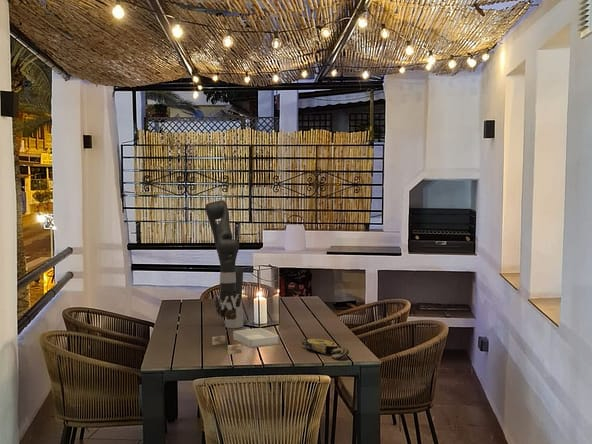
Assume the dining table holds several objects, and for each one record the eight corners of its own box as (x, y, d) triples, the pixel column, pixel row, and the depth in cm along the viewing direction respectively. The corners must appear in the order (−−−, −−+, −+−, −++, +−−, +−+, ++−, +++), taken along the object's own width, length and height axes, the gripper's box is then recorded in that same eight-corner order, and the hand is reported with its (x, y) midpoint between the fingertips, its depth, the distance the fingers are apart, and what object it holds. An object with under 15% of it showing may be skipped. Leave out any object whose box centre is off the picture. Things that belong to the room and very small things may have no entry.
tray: (260, 335, 315) (260, 327, 314) (279, 344, 297) (279, 336, 297) (232, 338, 307) (232, 331, 307) (250, 348, 289) (250, 339, 289)
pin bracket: (223, 342, 299) (223, 335, 299) (241, 352, 281) (241, 345, 281) (212, 344, 296) (212, 336, 296) (229, 354, 278) (229, 346, 278)
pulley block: (332, 348, 265) (299, 334, 292) (330, 361, 265) (297, 346, 291) (358, 349, 272) (324, 335, 298) (356, 362, 272) (322, 347, 298)
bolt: (232, 324, 282) (219, 317, 296) (240, 318, 284) (228, 311, 297) (226, 314, 281) (214, 307, 294) (235, 308, 283) (223, 302, 296)
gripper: (238, 279, 295) (238, 313, 296) (210, 281, 287) (210, 316, 288) (244, 281, 288) (244, 316, 289) (216, 283, 281) (216, 319, 282)
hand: (227, 316), depth 289 cm, fingers closed on bolt, 5 cm apart
